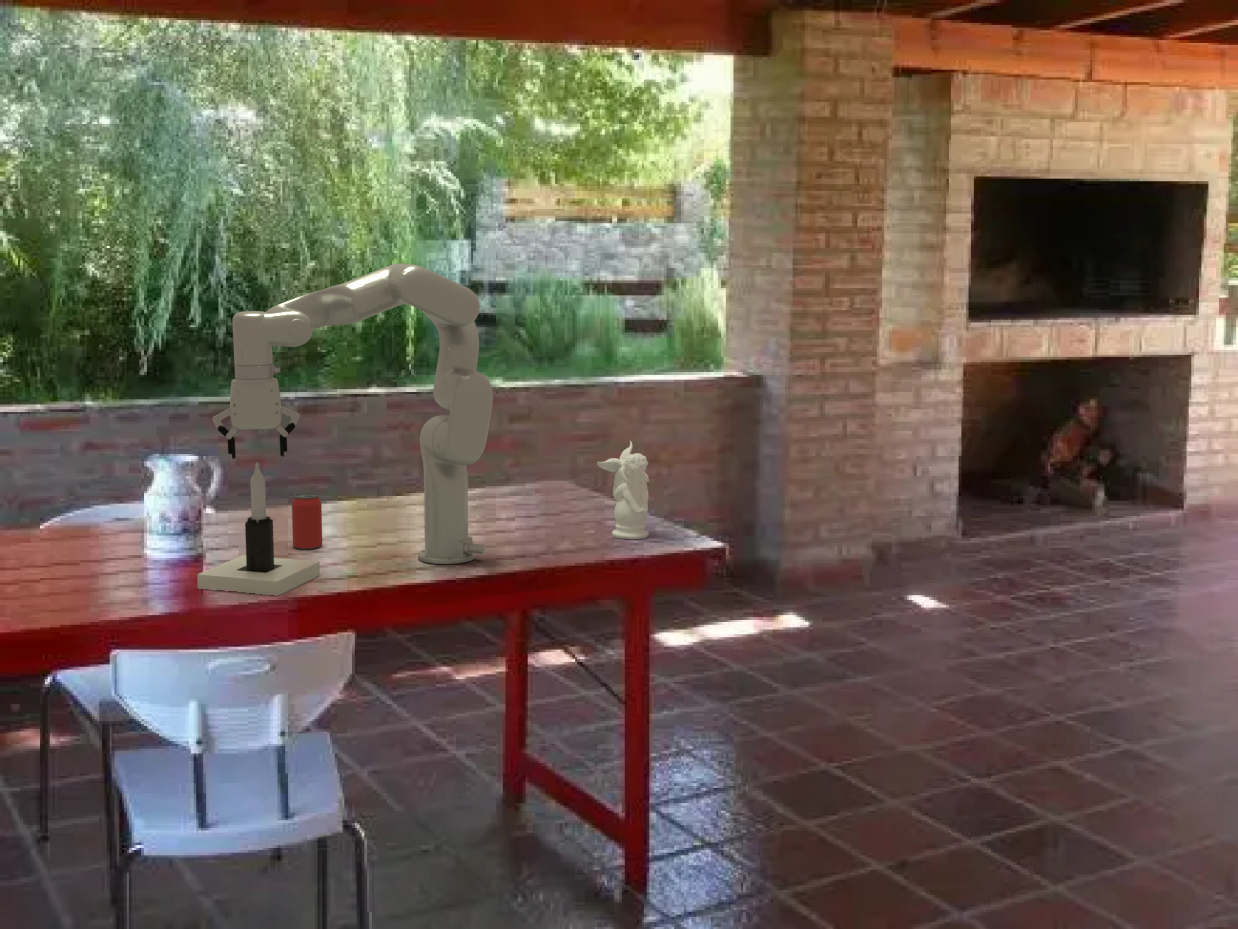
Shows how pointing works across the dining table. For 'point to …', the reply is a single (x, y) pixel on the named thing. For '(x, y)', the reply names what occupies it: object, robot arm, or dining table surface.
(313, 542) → the beer can
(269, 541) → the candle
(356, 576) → the dining table surface
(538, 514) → the dining table surface
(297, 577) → the candle base
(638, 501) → the cherub figurine
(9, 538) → the dining table surface
